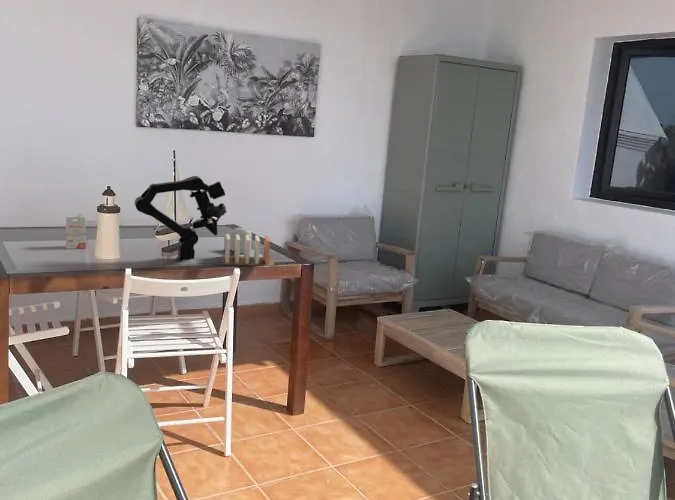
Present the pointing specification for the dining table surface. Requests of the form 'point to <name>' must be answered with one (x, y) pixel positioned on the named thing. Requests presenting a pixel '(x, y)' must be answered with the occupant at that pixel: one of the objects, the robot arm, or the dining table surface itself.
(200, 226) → the robot arm
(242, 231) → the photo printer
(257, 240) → the domino
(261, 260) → the walnut board
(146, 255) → the dining table surface
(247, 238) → the domino
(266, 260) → the domino
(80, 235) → the ink cartridge box
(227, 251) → the domino
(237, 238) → the domino
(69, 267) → the dining table surface
